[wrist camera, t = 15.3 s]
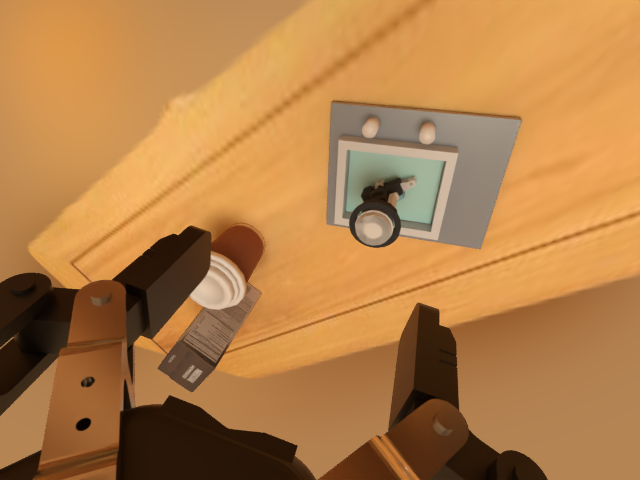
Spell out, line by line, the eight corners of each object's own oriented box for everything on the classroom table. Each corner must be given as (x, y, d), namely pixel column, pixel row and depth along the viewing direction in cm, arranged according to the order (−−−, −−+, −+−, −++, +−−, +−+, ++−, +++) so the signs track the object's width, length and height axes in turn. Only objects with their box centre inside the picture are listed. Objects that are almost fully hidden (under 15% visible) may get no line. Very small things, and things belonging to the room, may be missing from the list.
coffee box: (239, 318, 68) (191, 394, 55) (210, 297, 67) (154, 369, 54) (263, 292, 62) (216, 370, 49) (232, 270, 61) (176, 342, 48)
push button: (408, 158, 42) (400, 195, 34) (424, 197, 44) (420, 241, 36) (356, 178, 46) (338, 216, 37) (374, 214, 47) (360, 258, 39)
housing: (333, 101, 42) (324, 109, 39) (520, 117, 38) (527, 128, 35) (328, 220, 51) (320, 235, 48) (479, 245, 47) (482, 262, 44)
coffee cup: (285, 249, 56) (252, 301, 46) (248, 273, 61) (211, 324, 51) (244, 204, 54) (200, 249, 44) (208, 233, 59) (162, 279, 49)
